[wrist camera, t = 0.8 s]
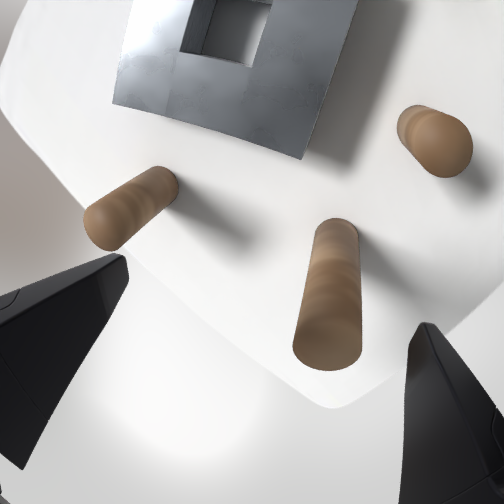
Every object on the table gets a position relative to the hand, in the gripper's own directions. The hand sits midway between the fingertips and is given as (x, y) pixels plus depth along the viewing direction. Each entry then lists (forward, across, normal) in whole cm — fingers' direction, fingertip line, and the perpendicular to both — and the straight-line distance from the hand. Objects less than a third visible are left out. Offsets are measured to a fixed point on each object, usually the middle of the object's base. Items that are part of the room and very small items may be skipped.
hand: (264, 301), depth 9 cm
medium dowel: (+13, +10, +3) cm, 17 cm away
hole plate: (+13, +5, -8) cm, 16 cm away
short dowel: (+13, -6, -4) cm, 15 cm away
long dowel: (+13, -2, +4) cm, 14 cm away
